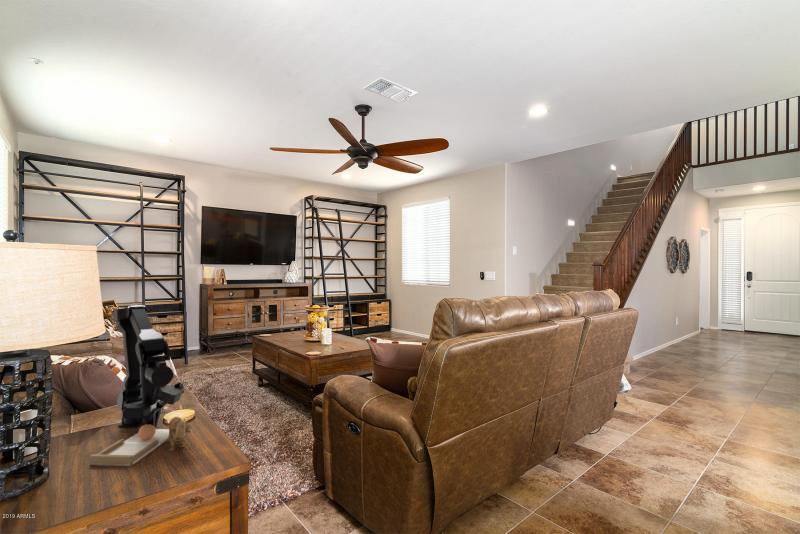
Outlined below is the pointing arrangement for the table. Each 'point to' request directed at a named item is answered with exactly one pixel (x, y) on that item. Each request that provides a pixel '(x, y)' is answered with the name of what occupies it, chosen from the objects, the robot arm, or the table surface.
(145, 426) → the ball
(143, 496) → the table surface
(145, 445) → the lane
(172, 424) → the lion figurine
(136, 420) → the robot arm
